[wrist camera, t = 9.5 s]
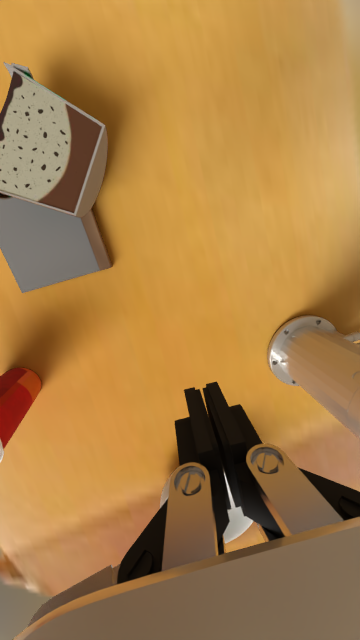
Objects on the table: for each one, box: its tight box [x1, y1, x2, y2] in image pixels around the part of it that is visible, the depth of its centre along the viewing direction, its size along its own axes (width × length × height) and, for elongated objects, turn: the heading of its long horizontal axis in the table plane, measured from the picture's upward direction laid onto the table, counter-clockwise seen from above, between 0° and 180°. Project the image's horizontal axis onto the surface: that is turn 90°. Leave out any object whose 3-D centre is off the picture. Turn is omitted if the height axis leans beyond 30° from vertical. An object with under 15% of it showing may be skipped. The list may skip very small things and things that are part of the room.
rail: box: [80, 208, 112, 271], centre depth 31 cm, size 2×18×2 cm, turn 15°
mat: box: [0, 197, 100, 293], centre depth 31 cm, size 11×18×1 cm, turn 15°
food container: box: [0, 62, 108, 217], centre depth 27 cm, size 12×6×10 cm
